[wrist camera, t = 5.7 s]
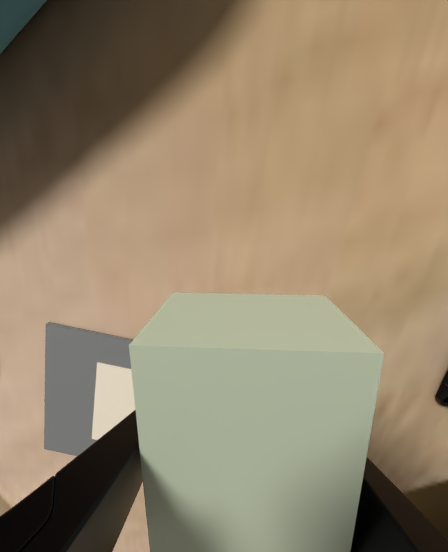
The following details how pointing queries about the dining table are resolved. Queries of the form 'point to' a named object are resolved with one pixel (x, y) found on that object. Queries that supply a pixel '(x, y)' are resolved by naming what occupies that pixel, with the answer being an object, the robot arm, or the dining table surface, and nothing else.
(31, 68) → the dining table surface
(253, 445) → the sage block
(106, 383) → the placemat
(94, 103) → the dining table surface
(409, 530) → the robot arm
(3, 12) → the casserole dish
